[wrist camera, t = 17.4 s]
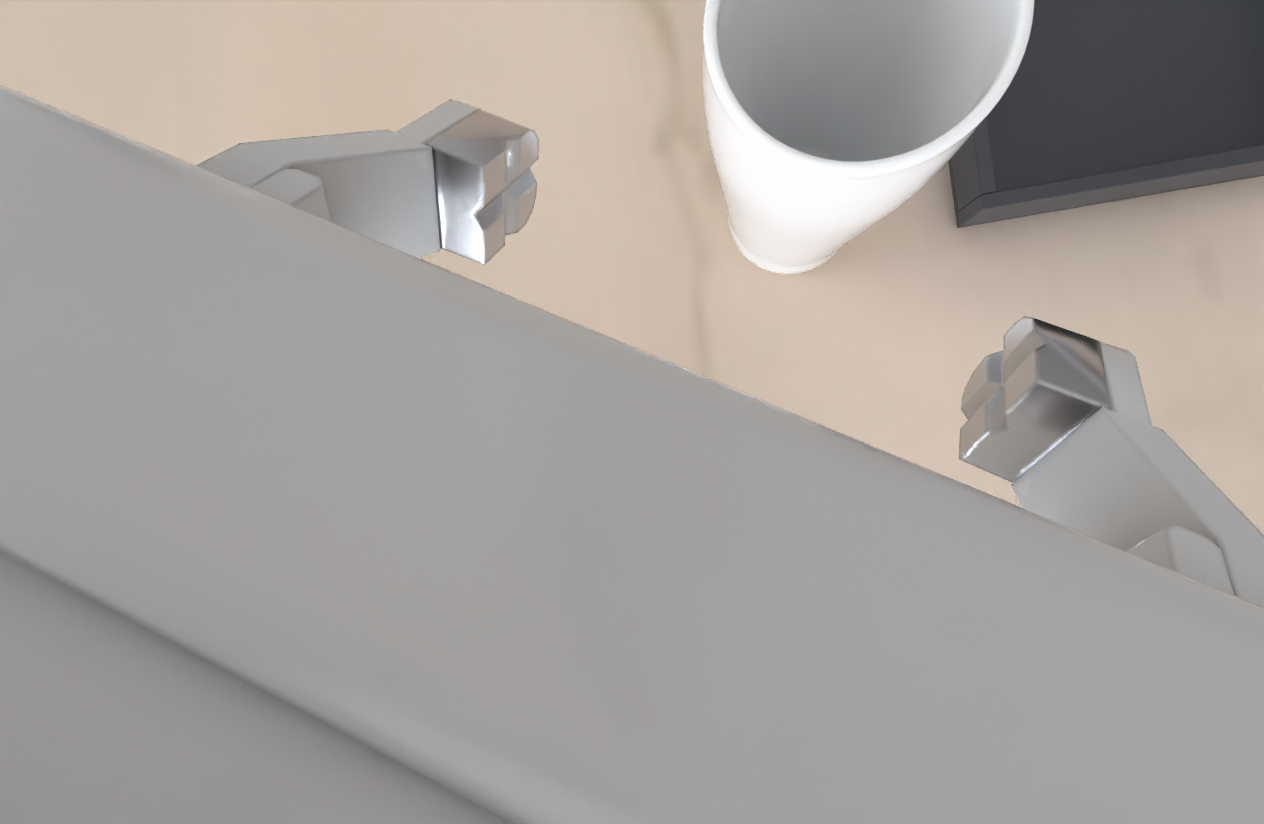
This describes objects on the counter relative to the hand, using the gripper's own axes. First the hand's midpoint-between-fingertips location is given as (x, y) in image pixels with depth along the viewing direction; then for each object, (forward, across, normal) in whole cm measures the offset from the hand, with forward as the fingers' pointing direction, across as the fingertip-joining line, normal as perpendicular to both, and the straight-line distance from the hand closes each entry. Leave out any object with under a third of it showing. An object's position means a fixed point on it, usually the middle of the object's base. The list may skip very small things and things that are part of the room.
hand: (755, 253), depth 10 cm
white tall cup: (+17, 0, +9) cm, 19 cm away
